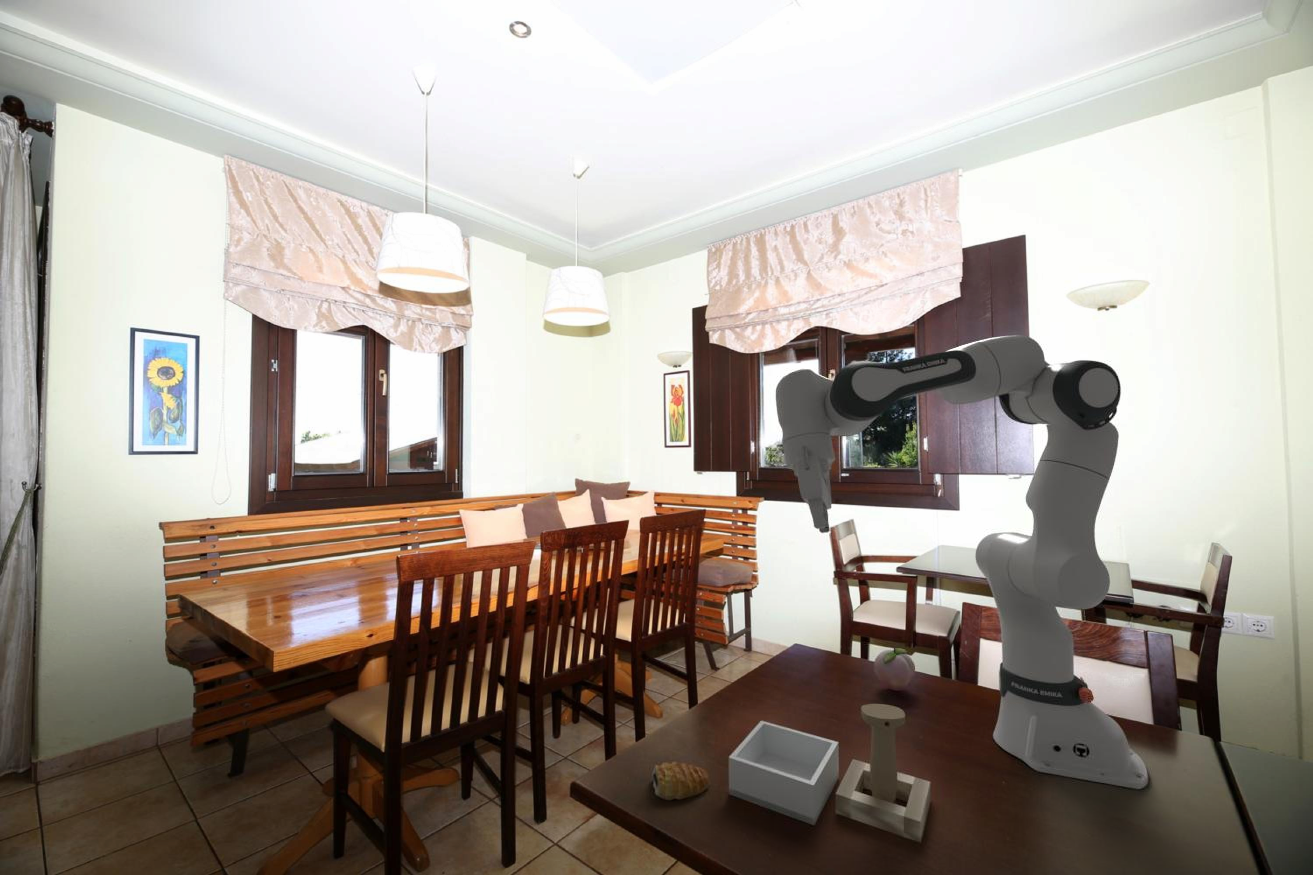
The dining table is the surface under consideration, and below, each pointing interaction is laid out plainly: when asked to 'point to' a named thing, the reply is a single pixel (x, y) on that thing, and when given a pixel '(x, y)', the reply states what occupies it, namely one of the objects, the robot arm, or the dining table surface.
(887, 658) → the decorative fruit
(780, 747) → the bin
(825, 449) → the robot arm
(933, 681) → the dining table surface
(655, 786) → the pastry
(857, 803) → the socket block
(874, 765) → the handle
